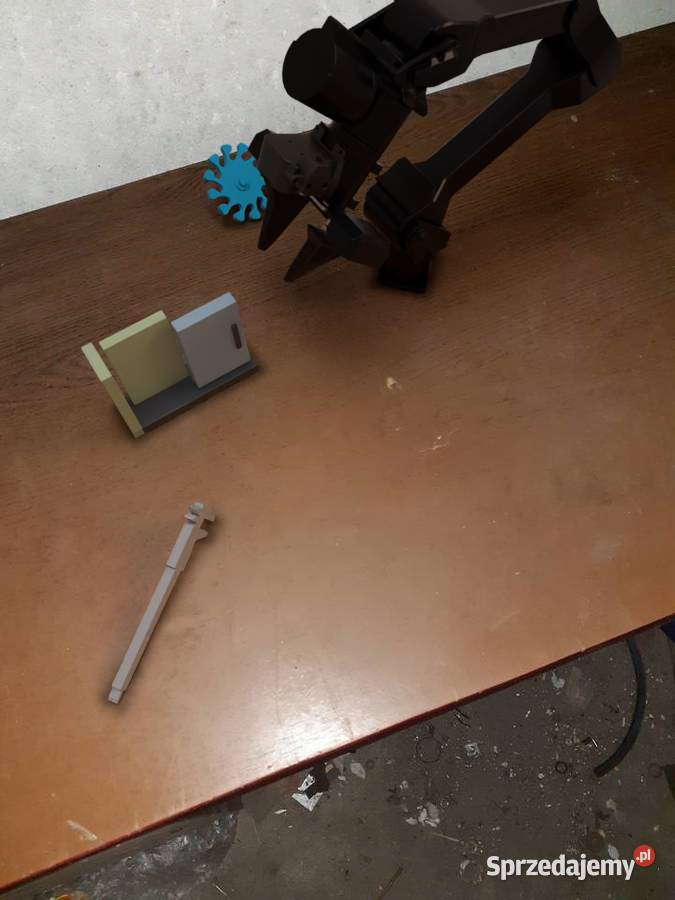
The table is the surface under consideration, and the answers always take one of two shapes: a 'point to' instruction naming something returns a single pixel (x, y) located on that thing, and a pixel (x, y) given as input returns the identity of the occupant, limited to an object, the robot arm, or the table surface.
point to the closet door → (212, 339)
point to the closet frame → (153, 374)
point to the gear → (237, 182)
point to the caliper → (161, 595)
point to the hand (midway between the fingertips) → (273, 265)
